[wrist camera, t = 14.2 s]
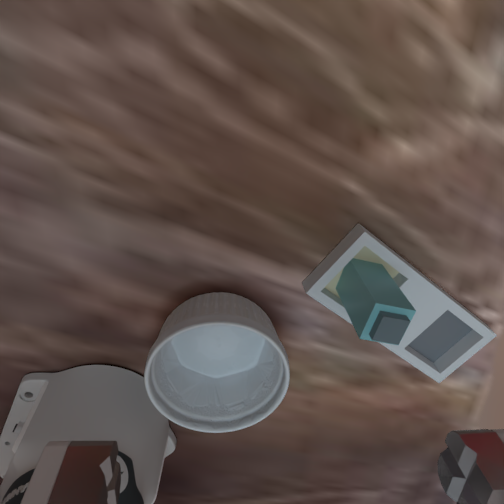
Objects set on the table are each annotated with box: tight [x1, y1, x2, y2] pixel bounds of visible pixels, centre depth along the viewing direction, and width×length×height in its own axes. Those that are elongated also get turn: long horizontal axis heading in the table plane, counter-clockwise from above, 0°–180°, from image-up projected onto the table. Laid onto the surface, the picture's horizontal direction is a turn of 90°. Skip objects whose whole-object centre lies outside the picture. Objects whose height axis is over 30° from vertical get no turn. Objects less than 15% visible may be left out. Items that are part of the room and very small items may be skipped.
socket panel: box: [302, 223, 497, 383], centre depth 44 cm, size 8×20×2 cm, turn 51°
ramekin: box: [144, 292, 290, 433], centre depth 42 cm, size 13×13×7 cm
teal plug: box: [336, 258, 416, 345], centre depth 39 cm, size 4×4×9 cm
